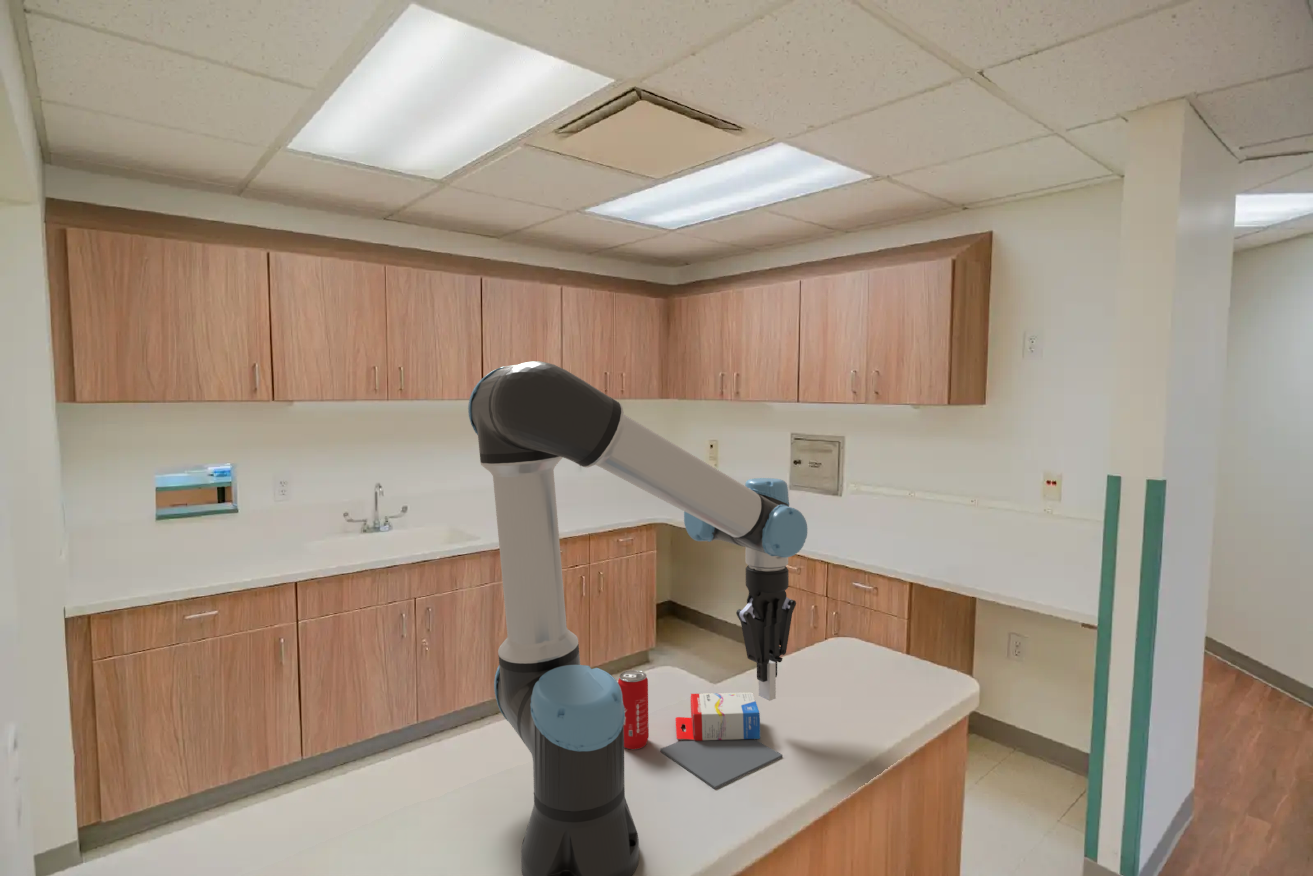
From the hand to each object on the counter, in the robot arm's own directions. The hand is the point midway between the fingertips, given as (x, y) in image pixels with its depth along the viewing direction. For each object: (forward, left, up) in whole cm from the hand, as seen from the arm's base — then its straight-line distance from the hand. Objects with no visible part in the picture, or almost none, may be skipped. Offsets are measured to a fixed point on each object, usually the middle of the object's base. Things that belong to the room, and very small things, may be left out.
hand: (767, 696), depth 115 cm
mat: (-11, 0, -7) cm, 13 cm away
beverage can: (-21, +12, -7) cm, 25 cm away
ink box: (0, +2, -4) cm, 4 cm away
